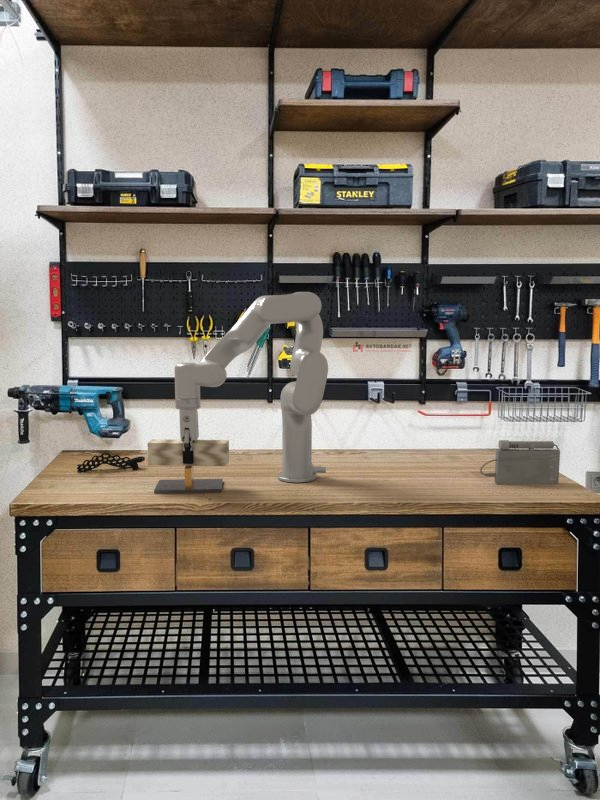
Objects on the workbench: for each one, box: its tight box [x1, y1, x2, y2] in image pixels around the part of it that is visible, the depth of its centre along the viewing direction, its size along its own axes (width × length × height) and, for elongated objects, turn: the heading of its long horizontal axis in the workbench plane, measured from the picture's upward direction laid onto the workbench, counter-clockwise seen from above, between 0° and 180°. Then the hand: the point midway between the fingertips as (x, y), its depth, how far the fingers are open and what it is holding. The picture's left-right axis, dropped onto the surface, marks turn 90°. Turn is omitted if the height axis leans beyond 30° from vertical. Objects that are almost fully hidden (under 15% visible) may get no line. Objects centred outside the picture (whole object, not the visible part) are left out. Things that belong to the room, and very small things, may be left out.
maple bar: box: [147, 438, 230, 467], centre depth 209 cm, size 24×6×7 cm, turn 87°
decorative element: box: [76, 452, 146, 473], centre depth 232 cm, size 22×5×6 cm, turn 104°
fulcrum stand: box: [153, 466, 224, 494], centre depth 210 cm, size 20×12×7 cm, turn 94°
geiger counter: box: [479, 439, 561, 485], centre depth 215 cm, size 14×6×25 cm
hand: (189, 460), depth 209 cm, fingers closed on maple bar, 5 cm apart
